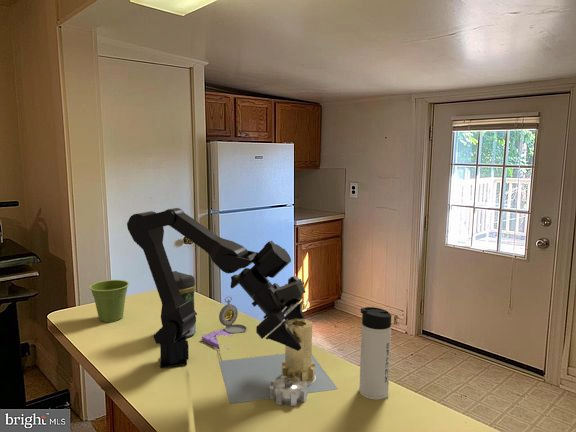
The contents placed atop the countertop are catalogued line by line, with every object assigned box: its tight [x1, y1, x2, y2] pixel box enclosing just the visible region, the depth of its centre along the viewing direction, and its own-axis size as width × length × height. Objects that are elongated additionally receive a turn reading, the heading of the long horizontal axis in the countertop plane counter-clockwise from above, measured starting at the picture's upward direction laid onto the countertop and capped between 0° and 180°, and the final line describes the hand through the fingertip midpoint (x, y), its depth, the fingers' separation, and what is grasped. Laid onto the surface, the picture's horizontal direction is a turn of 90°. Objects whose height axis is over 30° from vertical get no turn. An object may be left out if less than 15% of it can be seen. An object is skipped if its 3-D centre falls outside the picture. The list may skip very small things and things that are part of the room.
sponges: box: [201, 328, 234, 350], centre depth 122 cm, size 7×13×2 cm, turn 46°
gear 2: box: [269, 376, 308, 407], centre depth 93 cm, size 8×8×3 cm
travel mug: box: [358, 306, 392, 401], centre depth 94 cm, size 6×7×20 cm
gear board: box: [218, 353, 339, 405], centre depth 102 cm, size 24×20×4 cm
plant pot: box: [89, 279, 130, 323], centre depth 139 cm, size 12×12×11 cm
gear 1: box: [282, 318, 315, 383], centre depth 100 cm, size 8×8×13 cm
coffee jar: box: [172, 270, 197, 339], centre depth 127 cm, size 10×8×19 cm
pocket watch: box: [218, 296, 248, 335], centre depth 131 cm, size 8×8×10 cm
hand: (305, 341), depth 99 cm, fingers open, 9 cm apart
